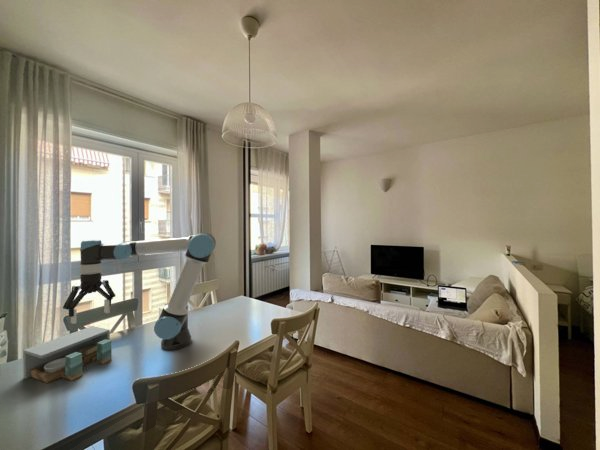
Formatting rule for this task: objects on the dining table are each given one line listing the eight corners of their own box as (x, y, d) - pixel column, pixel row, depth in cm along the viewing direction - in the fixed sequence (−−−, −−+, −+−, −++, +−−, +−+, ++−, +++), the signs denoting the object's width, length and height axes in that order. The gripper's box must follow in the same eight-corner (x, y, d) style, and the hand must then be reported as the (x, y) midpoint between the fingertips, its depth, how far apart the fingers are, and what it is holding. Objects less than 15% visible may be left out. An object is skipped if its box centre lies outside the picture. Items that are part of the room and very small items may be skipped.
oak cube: (98, 355, 125) (98, 345, 125) (88, 360, 120) (88, 350, 120) (89, 354, 126) (89, 344, 126) (79, 359, 121) (79, 349, 121)
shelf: (109, 353, 127) (109, 329, 127) (41, 384, 102) (41, 355, 102) (92, 348, 132) (92, 326, 132) (23, 377, 107) (23, 349, 107)
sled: (94, 369, 113) (94, 348, 113) (58, 387, 101) (58, 364, 100) (66, 360, 120) (66, 341, 120) (30, 376, 108) (30, 354, 107)
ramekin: (39, 380, 106) (39, 370, 106) (50, 369, 114) (50, 359, 114) (66, 375, 109) (66, 365, 109) (74, 364, 117) (74, 355, 117)
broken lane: (116, 357, 123) (116, 338, 123) (96, 367, 114) (96, 346, 114) (93, 351, 129) (93, 332, 129) (72, 360, 121) (72, 340, 121)
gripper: (113, 267, 129) (113, 308, 129) (52, 277, 106) (52, 326, 106) (123, 268, 126) (123, 310, 126) (62, 279, 103) (62, 329, 103)
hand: (91, 317), depth 116 cm, fingers open, 13 cm apart
